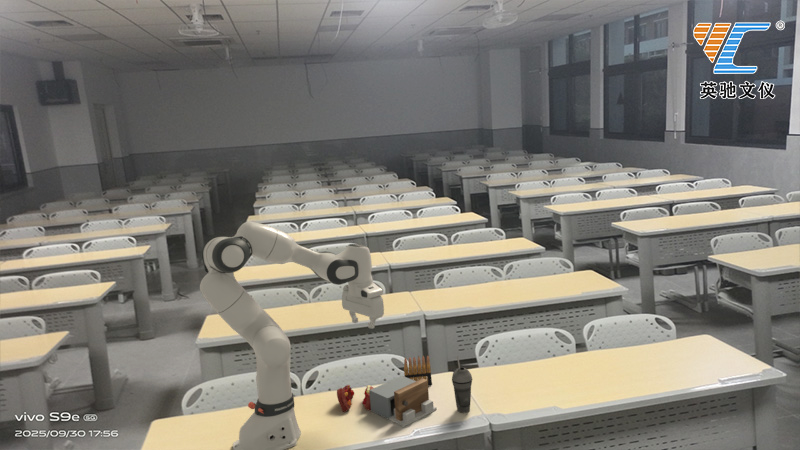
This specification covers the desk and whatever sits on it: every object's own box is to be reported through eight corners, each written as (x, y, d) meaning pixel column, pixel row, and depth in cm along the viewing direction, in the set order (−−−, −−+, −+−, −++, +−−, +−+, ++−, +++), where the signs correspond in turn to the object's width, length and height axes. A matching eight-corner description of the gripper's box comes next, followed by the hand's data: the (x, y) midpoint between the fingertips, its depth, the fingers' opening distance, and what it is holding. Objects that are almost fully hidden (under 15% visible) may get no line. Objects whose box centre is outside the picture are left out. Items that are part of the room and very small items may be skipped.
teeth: (376, 390, 213) (334, 392, 214) (377, 411, 214) (336, 413, 214) (378, 379, 223) (338, 381, 224) (379, 399, 224) (340, 401, 225)
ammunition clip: (405, 387, 231) (403, 358, 229) (404, 385, 233) (402, 357, 231) (432, 385, 232) (430, 356, 230) (431, 383, 234) (429, 354, 232)
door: (431, 407, 212) (430, 381, 210) (403, 422, 202) (401, 394, 201) (424, 404, 214) (422, 378, 213) (395, 418, 205) (393, 391, 204)
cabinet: (404, 426, 201) (402, 404, 200) (370, 411, 214) (369, 390, 213) (436, 409, 212) (435, 388, 210) (403, 395, 224) (401, 375, 223)
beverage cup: (471, 415, 205) (468, 361, 202) (451, 413, 208) (448, 359, 205) (475, 406, 212) (473, 353, 209) (455, 404, 215) (453, 351, 211)
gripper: (336, 285, 218) (339, 321, 220) (371, 294, 203) (374, 333, 205) (350, 282, 222) (352, 317, 224) (385, 290, 207) (388, 328, 209)
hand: (363, 325), depth 214 cm, fingers open, 8 cm apart
